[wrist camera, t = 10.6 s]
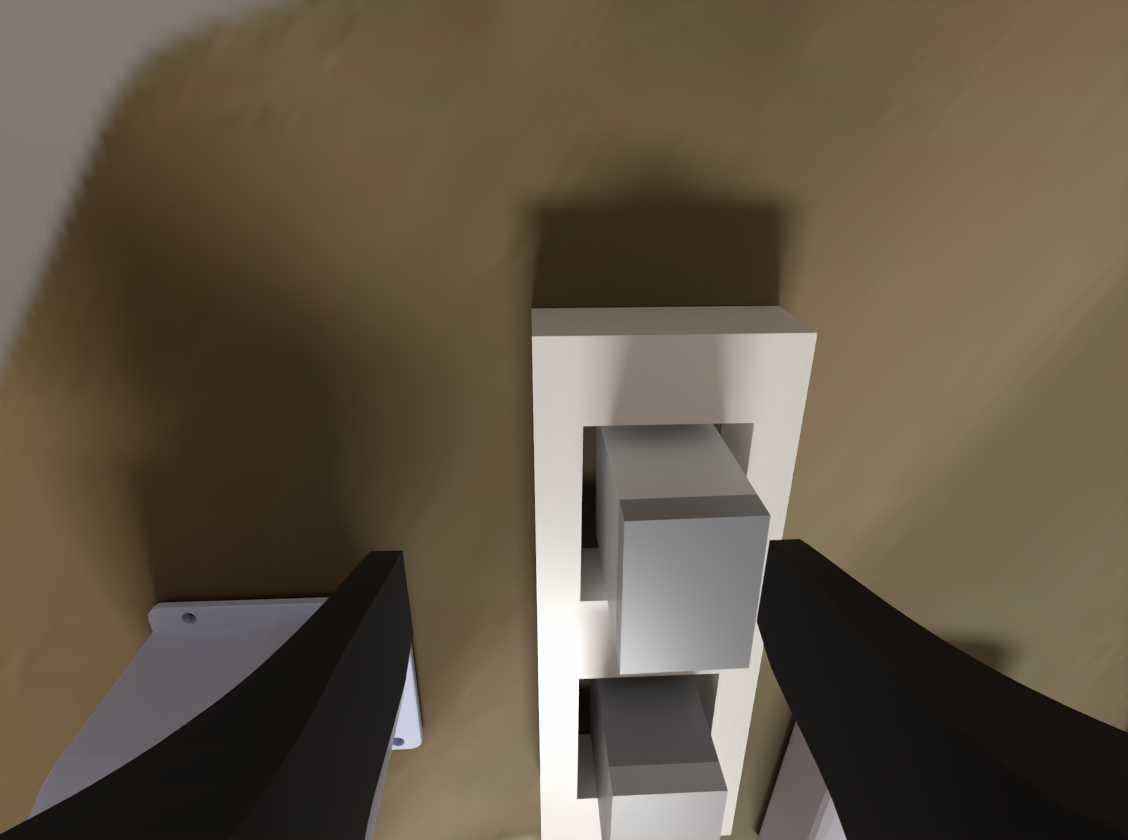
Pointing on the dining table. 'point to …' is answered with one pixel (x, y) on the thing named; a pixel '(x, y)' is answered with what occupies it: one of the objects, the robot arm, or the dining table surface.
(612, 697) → the charcoal plug
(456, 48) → the dining table surface
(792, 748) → the charger
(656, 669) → the grey plug
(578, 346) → the power strip
